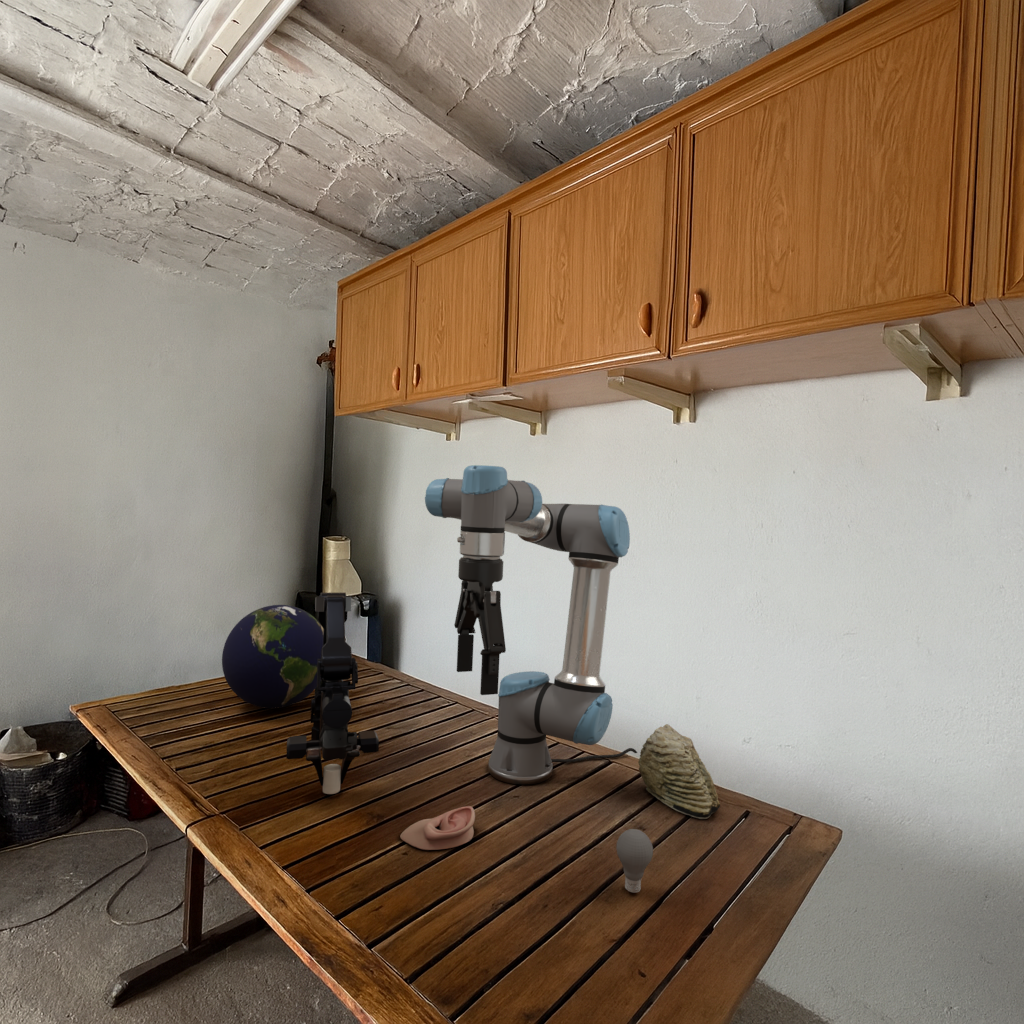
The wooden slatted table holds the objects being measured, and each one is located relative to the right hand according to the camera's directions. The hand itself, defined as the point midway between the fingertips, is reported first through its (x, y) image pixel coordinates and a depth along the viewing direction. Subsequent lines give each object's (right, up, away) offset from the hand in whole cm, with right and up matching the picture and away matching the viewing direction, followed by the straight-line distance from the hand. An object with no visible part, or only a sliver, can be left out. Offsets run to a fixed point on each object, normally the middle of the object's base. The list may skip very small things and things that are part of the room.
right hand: (476, 682), depth 107 cm
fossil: (+42, -35, +31) cm, 63 cm away
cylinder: (-32, -31, +28) cm, 53 cm away
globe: (-64, -29, +81) cm, 107 cm away
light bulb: (+26, -35, -2) cm, 43 cm away
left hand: (-32, -29, +28) cm, 52 cm away
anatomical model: (-8, -33, +13) cm, 36 cm away
